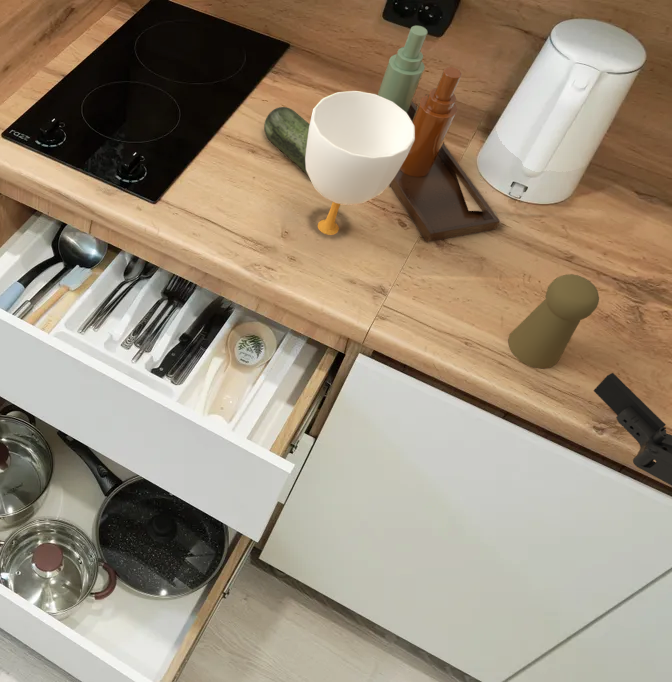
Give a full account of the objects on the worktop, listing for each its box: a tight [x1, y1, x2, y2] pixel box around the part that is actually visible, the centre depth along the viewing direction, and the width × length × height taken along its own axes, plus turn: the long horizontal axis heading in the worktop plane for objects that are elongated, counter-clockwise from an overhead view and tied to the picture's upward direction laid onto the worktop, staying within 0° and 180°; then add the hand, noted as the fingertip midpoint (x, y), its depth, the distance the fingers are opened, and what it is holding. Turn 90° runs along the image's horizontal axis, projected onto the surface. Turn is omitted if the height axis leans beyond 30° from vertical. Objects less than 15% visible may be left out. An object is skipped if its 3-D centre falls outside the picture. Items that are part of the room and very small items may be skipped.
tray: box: [389, 100, 501, 243], centre depth 111 cm, size 27×10×2 cm, turn 16°
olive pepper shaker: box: [507, 273, 600, 369], centre depth 90 cm, size 6×6×11 cm
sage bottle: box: [376, 25, 428, 113], centre depth 110 cm, size 5×5×15 cm
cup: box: [305, 90, 415, 236], centre depth 96 cm, size 12×12×17 cm
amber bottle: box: [400, 66, 462, 177], centre depth 105 cm, size 5×5×15 cm
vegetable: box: [263, 106, 310, 176], centre depth 109 cm, size 14×5×5 cm, turn 36°
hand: (648, 356), depth 81 cm, fingers open, 13 cm apart
